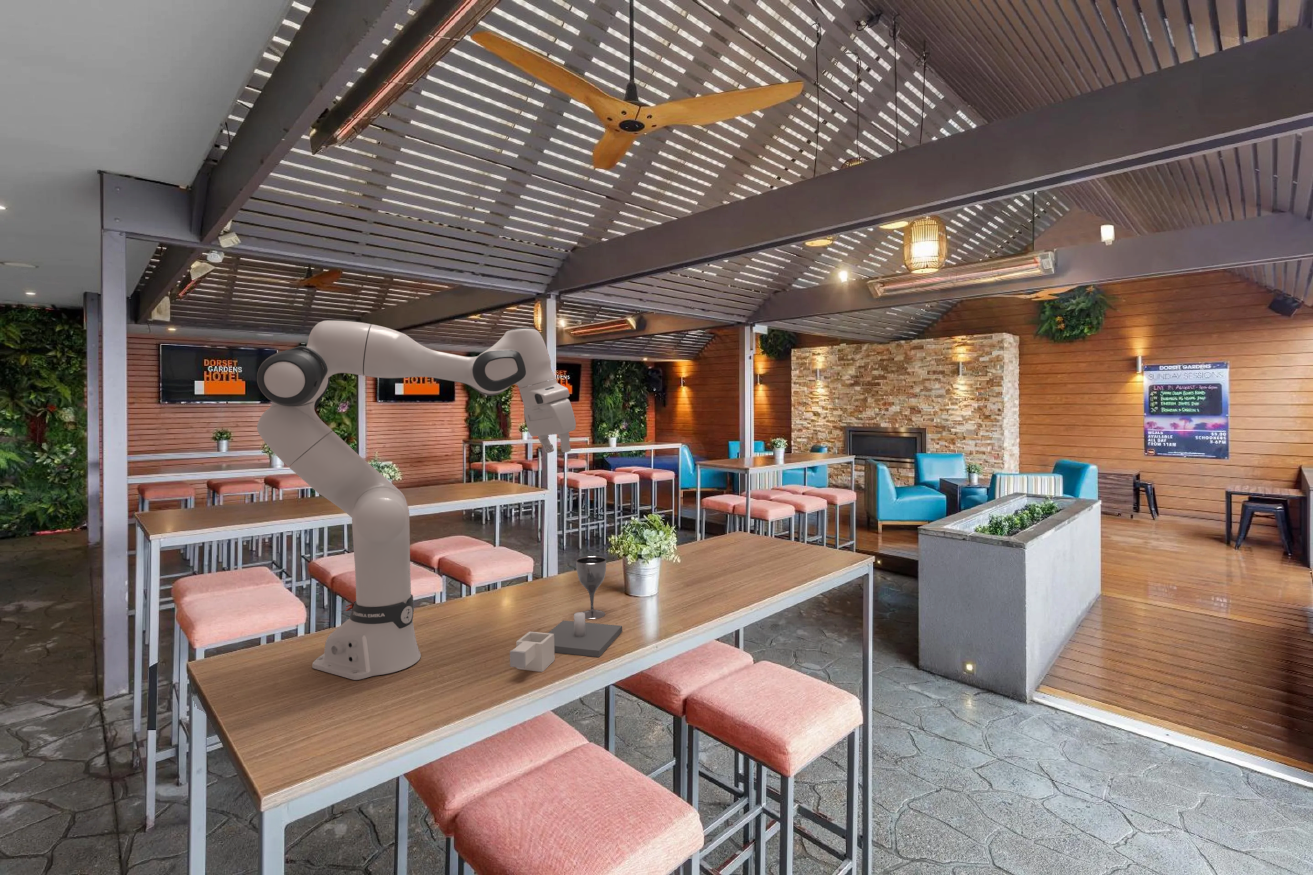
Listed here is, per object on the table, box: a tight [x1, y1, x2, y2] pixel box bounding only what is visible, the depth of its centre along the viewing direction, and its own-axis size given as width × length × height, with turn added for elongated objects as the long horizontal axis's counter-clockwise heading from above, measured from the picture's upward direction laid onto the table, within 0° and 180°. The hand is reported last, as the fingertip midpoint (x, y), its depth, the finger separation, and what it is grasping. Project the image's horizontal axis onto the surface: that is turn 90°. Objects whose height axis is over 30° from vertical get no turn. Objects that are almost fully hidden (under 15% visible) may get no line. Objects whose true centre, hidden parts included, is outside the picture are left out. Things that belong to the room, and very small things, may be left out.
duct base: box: [547, 611, 623, 658], centre depth 145 cm, size 16×16×6 cm
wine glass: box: [576, 555, 607, 620], centre depth 163 cm, size 8×8×15 cm
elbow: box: [509, 631, 556, 673], centre depth 129 cm, size 11×6×6 cm, turn 164°
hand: (558, 452), depth 143 cm, fingers open, 8 cm apart
